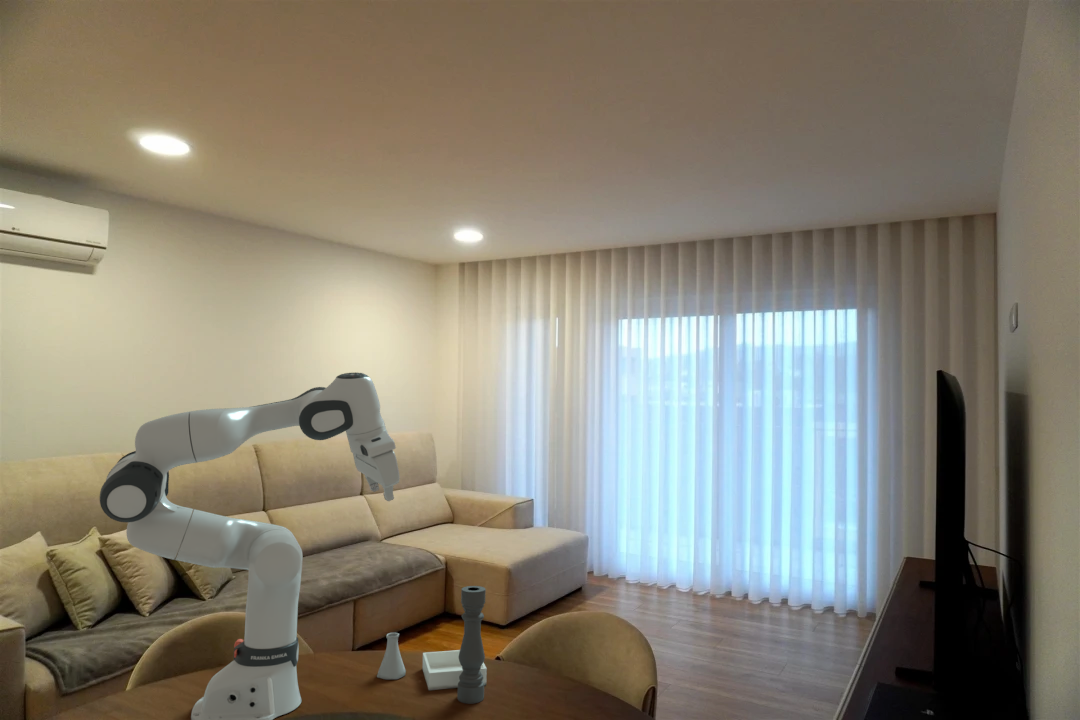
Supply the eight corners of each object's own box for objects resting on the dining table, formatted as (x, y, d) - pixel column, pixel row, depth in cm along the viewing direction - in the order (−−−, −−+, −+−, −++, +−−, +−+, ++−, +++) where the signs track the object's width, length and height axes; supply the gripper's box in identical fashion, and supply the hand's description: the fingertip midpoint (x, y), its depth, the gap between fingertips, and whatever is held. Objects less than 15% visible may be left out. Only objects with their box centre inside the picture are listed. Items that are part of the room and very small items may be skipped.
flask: (399, 682, 172) (400, 640, 172) (371, 679, 173) (373, 637, 174) (410, 671, 179) (411, 631, 179) (384, 668, 180) (385, 628, 181)
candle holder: (454, 694, 165) (457, 586, 166) (479, 691, 167) (481, 584, 169) (461, 705, 159) (464, 593, 161) (487, 701, 161) (490, 591, 163)
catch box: (428, 690, 167) (429, 673, 167) (422, 668, 180) (422, 652, 181) (486, 685, 171) (486, 668, 171) (475, 664, 184) (476, 648, 184)
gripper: (341, 436, 168) (355, 489, 171) (370, 452, 151) (385, 510, 154) (366, 428, 172) (379, 480, 175) (397, 442, 155) (411, 500, 158)
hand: (382, 495), depth 164 cm, fingers open, 8 cm apart
